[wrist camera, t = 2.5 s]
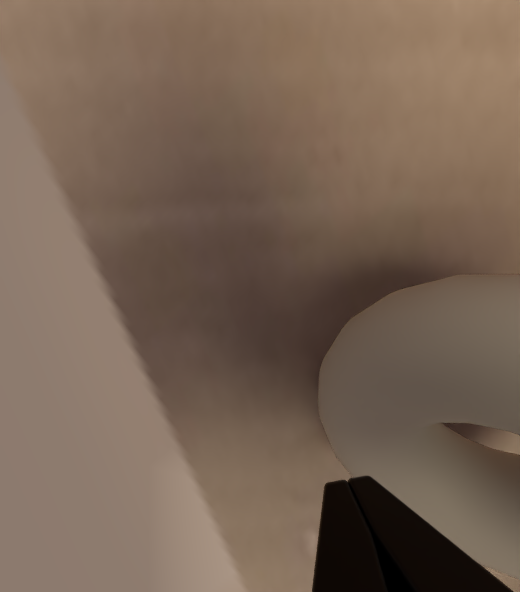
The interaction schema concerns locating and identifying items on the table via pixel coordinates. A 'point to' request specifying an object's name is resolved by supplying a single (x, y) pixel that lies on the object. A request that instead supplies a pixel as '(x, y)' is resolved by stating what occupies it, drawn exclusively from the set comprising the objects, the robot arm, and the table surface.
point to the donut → (434, 406)
